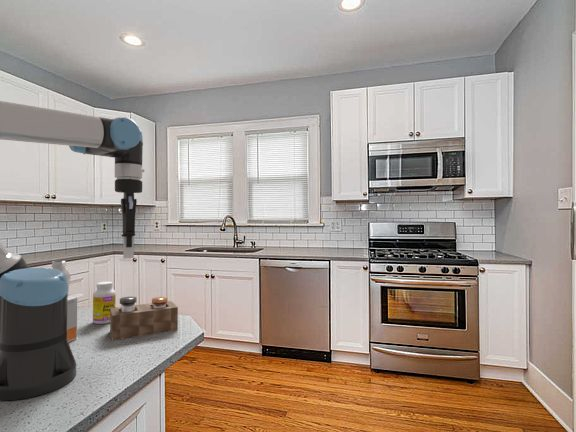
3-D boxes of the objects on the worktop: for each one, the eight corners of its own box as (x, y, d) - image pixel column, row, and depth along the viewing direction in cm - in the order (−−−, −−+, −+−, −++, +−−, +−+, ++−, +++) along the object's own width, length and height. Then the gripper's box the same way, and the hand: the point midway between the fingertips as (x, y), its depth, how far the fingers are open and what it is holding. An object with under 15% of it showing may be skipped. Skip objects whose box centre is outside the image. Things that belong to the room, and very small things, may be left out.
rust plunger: (168, 327, 107) (168, 299, 107) (153, 329, 105) (153, 301, 105) (165, 323, 111) (165, 296, 111) (150, 325, 109) (150, 298, 109)
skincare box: (59, 347, 92) (59, 302, 92) (46, 345, 93) (46, 301, 93) (77, 339, 98) (77, 297, 98) (65, 337, 99) (65, 296, 99)
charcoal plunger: (137, 328, 102) (137, 299, 102) (120, 330, 100) (120, 300, 100) (135, 323, 106) (135, 295, 106) (118, 326, 104) (118, 297, 104)
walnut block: (171, 321, 114) (171, 300, 114) (177, 329, 106) (177, 307, 106) (110, 331, 105) (110, 308, 105) (112, 340, 97) (112, 315, 97)
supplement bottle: (101, 325, 110) (101, 285, 110) (88, 322, 113) (88, 283, 113) (120, 320, 116) (120, 281, 116) (106, 317, 119) (106, 280, 119)
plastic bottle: (41, 323, 112) (42, 261, 112) (63, 317, 118) (63, 259, 118) (53, 326, 109) (53, 263, 109) (74, 320, 115) (74, 260, 115)
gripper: (145, 178, 99) (145, 259, 100) (139, 181, 111) (139, 255, 111) (116, 176, 96) (116, 261, 96) (113, 180, 107) (112, 256, 107)
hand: (128, 258), depth 103 cm, fingers closed
